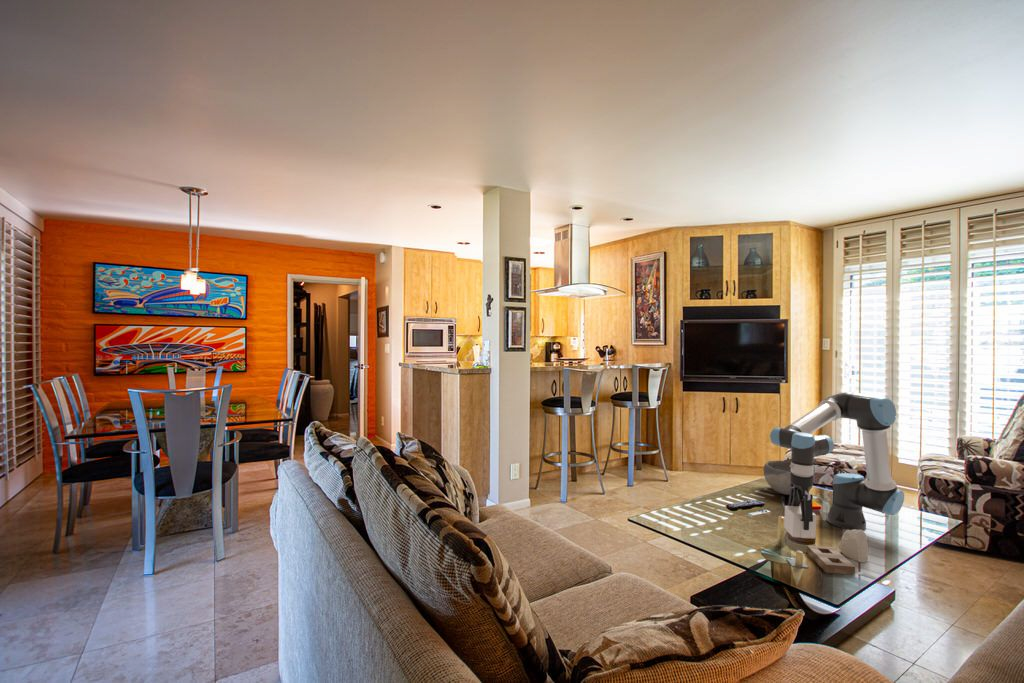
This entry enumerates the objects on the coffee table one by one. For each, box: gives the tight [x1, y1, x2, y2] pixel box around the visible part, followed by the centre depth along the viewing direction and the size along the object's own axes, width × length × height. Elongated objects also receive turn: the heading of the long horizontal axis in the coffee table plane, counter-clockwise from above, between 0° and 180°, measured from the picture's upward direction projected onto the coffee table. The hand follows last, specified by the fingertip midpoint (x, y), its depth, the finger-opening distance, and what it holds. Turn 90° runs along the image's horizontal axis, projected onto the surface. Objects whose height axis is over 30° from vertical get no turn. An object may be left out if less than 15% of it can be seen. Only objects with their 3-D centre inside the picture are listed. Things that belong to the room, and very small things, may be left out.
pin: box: [776, 515, 786, 548], centre depth 207 cm, size 3×3×12 cm
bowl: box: [763, 460, 815, 496], centre depth 273 cm, size 24×24×15 cm
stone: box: [838, 529, 870, 563], centre depth 198 cm, size 10×5×12 cm, turn 19°
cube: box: [784, 505, 817, 539], centre depth 191 cm, size 8×8×9 cm
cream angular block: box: [786, 550, 809, 569], centre depth 192 cm, size 6×6×5 cm
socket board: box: [806, 545, 856, 575], centre depth 193 cm, size 16×10×3 cm, turn 172°
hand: (799, 532), depth 192 cm, fingers closed on cube, 8 cm apart
